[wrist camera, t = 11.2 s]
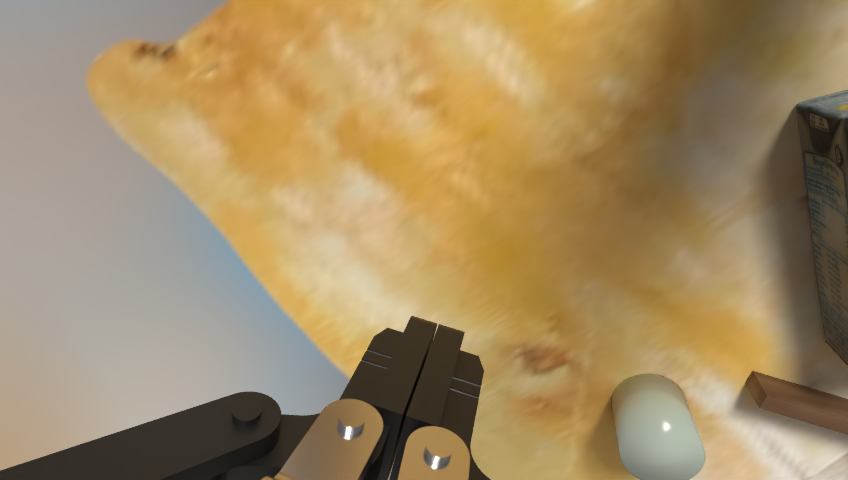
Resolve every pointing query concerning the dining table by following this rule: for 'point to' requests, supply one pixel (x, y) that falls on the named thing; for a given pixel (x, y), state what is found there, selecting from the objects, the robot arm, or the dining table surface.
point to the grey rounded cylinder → (656, 429)
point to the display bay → (799, 402)
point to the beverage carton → (828, 207)
